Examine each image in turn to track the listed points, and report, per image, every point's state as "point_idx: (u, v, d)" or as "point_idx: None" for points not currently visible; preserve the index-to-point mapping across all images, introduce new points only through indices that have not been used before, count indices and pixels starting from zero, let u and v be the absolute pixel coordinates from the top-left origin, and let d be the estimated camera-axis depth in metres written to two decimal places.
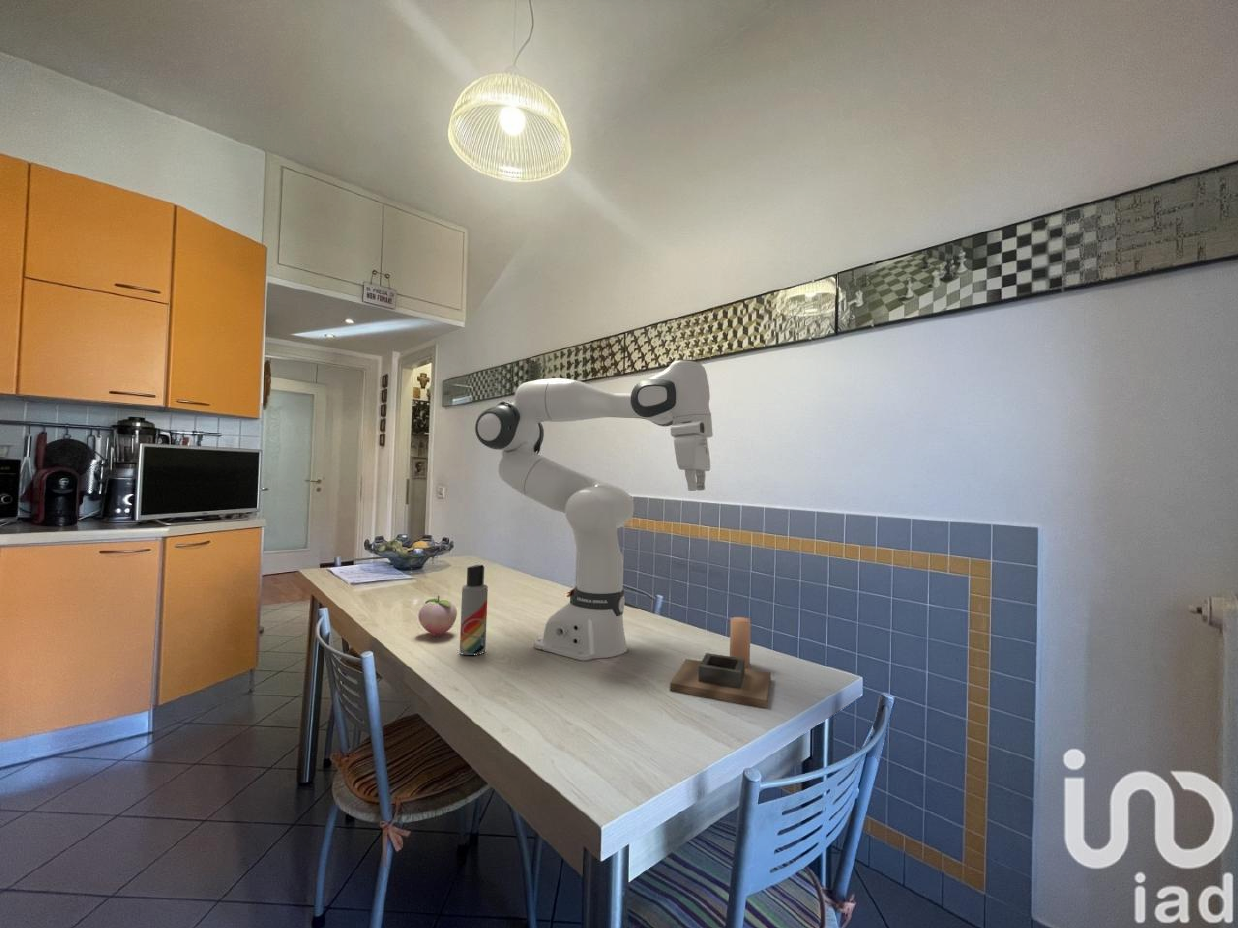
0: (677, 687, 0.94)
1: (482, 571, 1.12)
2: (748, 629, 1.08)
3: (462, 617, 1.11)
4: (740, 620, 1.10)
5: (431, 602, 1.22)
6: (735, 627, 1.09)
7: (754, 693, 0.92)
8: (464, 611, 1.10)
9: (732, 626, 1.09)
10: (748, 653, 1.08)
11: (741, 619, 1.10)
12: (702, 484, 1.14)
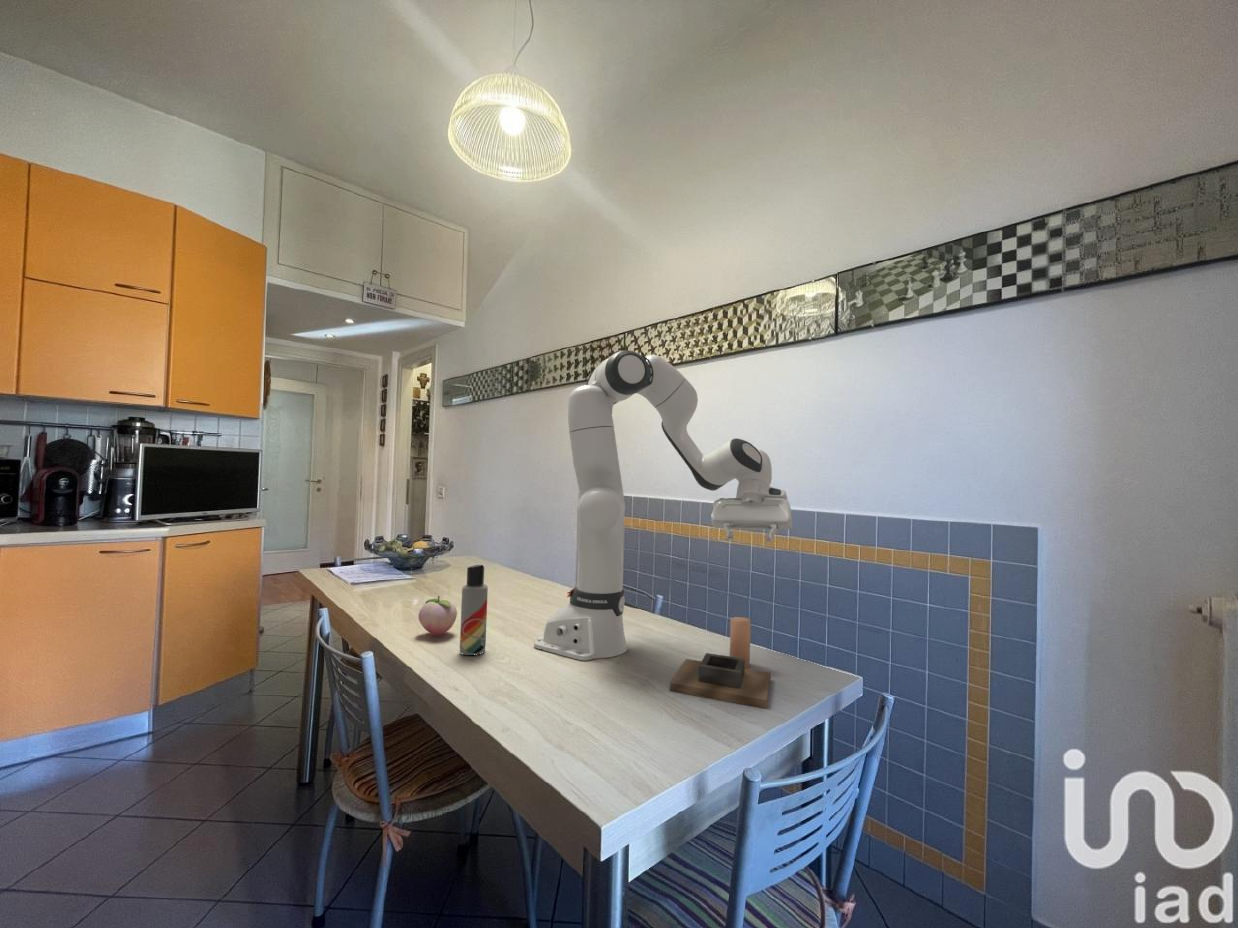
0: (677, 687, 0.94)
1: (482, 571, 1.12)
2: (748, 629, 1.08)
3: (462, 617, 1.11)
4: (740, 620, 1.10)
5: (431, 602, 1.22)
6: (735, 627, 1.09)
7: (754, 693, 0.92)
8: (464, 611, 1.10)
9: (732, 626, 1.09)
10: (748, 653, 1.08)
11: (741, 619, 1.10)
12: (733, 536, 1.24)
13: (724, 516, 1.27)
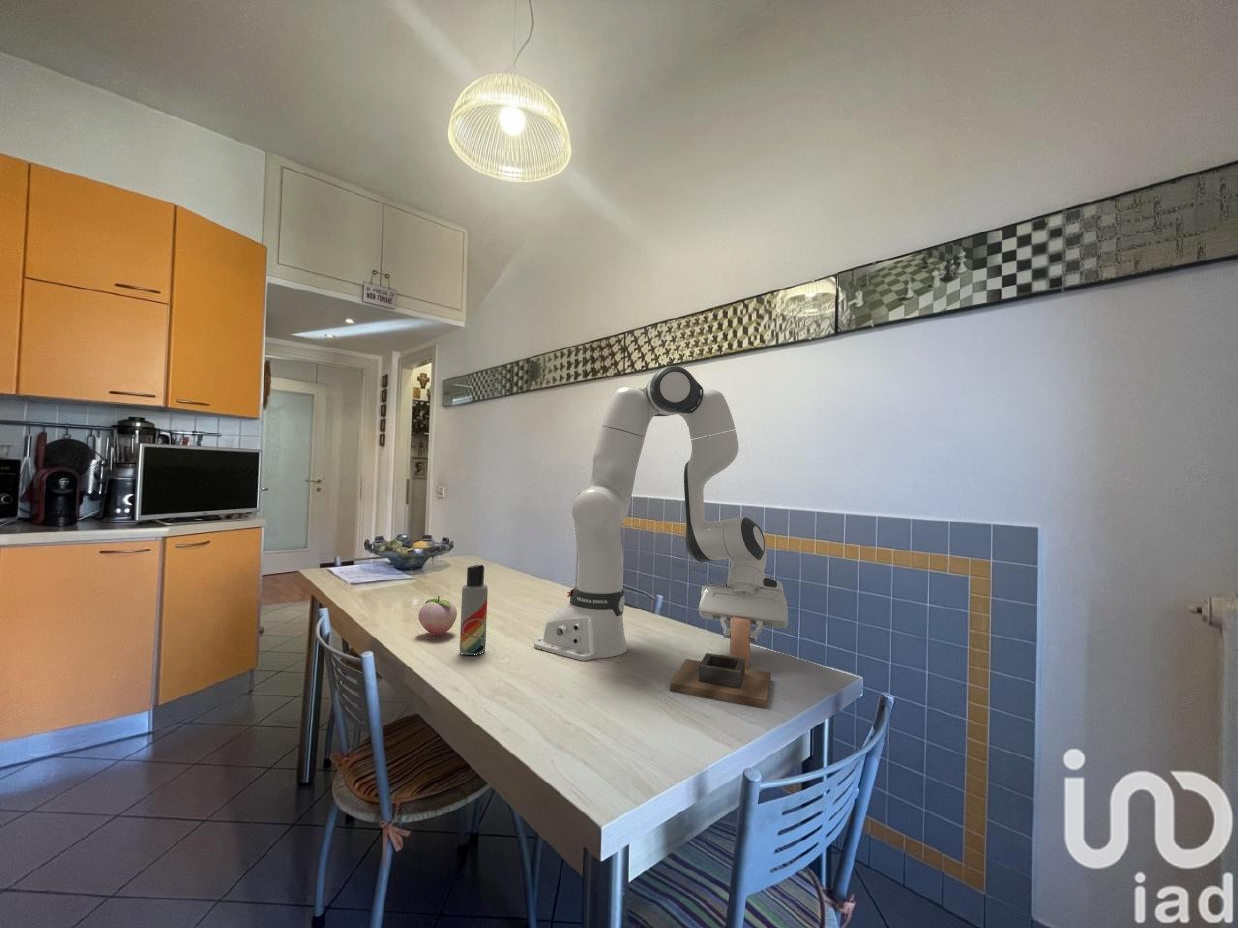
0: (677, 687, 0.94)
1: (482, 571, 1.12)
2: (748, 629, 1.08)
3: (462, 617, 1.11)
4: (740, 620, 1.10)
5: (431, 602, 1.22)
6: (735, 627, 1.09)
7: (754, 693, 0.92)
8: (464, 611, 1.10)
9: (732, 626, 1.09)
10: (748, 653, 1.08)
11: (741, 619, 1.10)
12: None
13: (713, 607, 1.15)
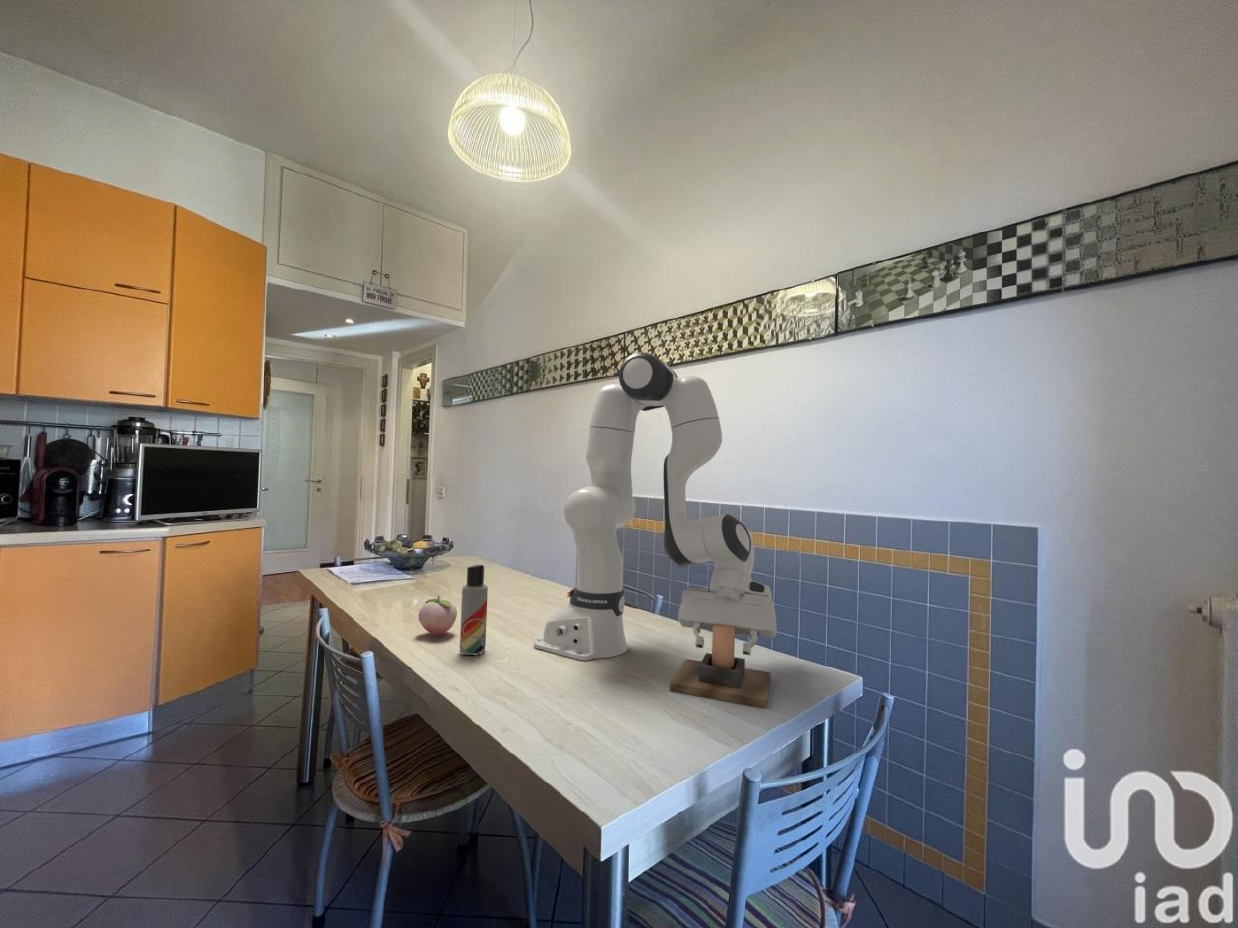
0: (677, 687, 0.94)
1: (482, 571, 1.12)
2: (732, 638, 0.97)
3: (462, 617, 1.11)
4: (723, 628, 0.98)
5: (431, 602, 1.22)
6: (717, 636, 0.97)
7: (754, 693, 0.92)
8: (464, 611, 1.10)
9: (714, 634, 0.98)
10: (732, 665, 0.97)
11: (724, 627, 0.99)
12: None
13: (694, 614, 1.03)
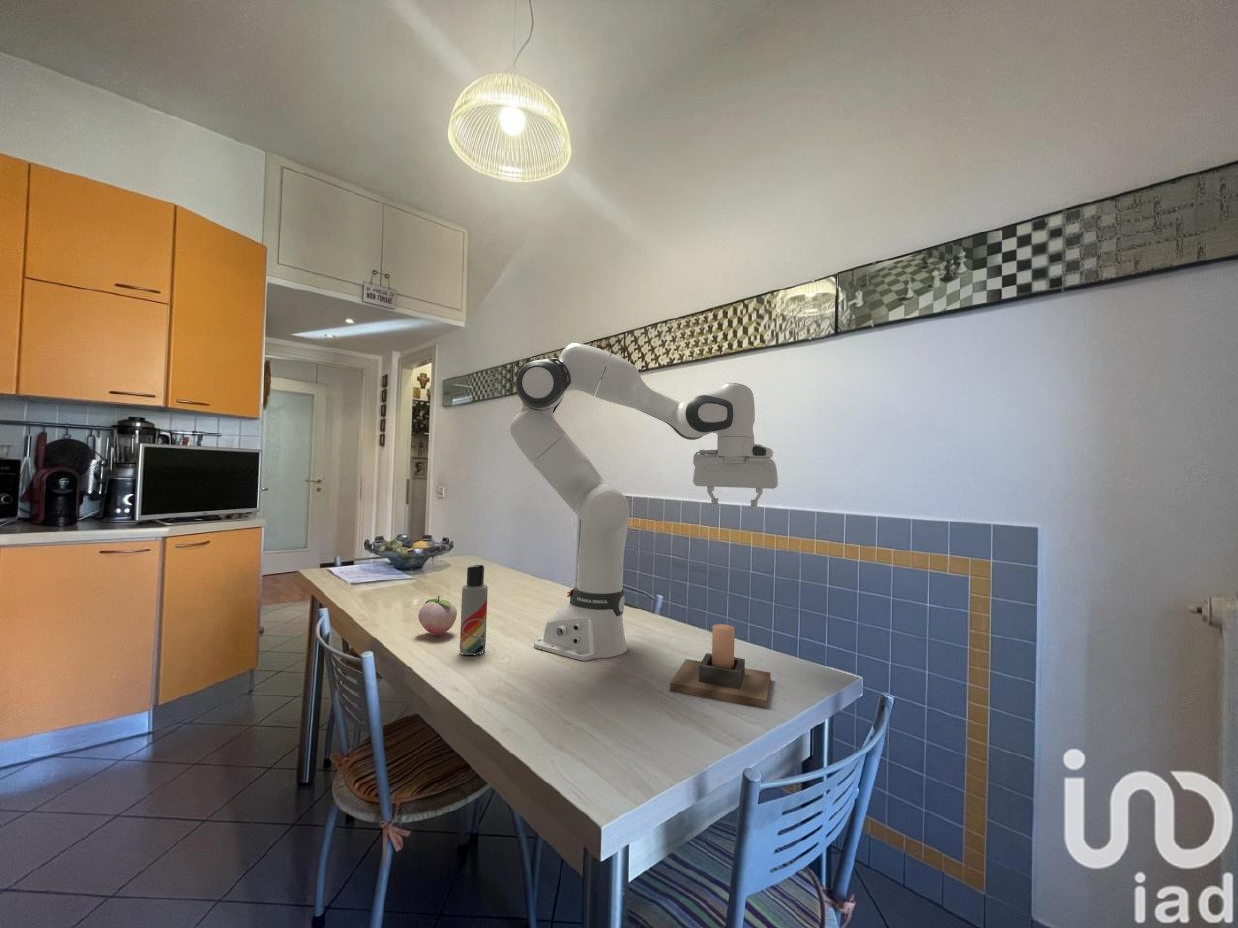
0: (677, 687, 0.94)
1: (482, 571, 1.12)
2: (732, 638, 0.97)
3: (462, 617, 1.11)
4: (722, 628, 0.98)
5: (431, 602, 1.22)
6: (717, 636, 0.97)
7: (754, 693, 0.92)
8: (464, 611, 1.10)
9: (714, 634, 0.98)
10: (732, 665, 0.97)
11: (724, 627, 0.99)
12: None
13: (707, 481, 1.20)
